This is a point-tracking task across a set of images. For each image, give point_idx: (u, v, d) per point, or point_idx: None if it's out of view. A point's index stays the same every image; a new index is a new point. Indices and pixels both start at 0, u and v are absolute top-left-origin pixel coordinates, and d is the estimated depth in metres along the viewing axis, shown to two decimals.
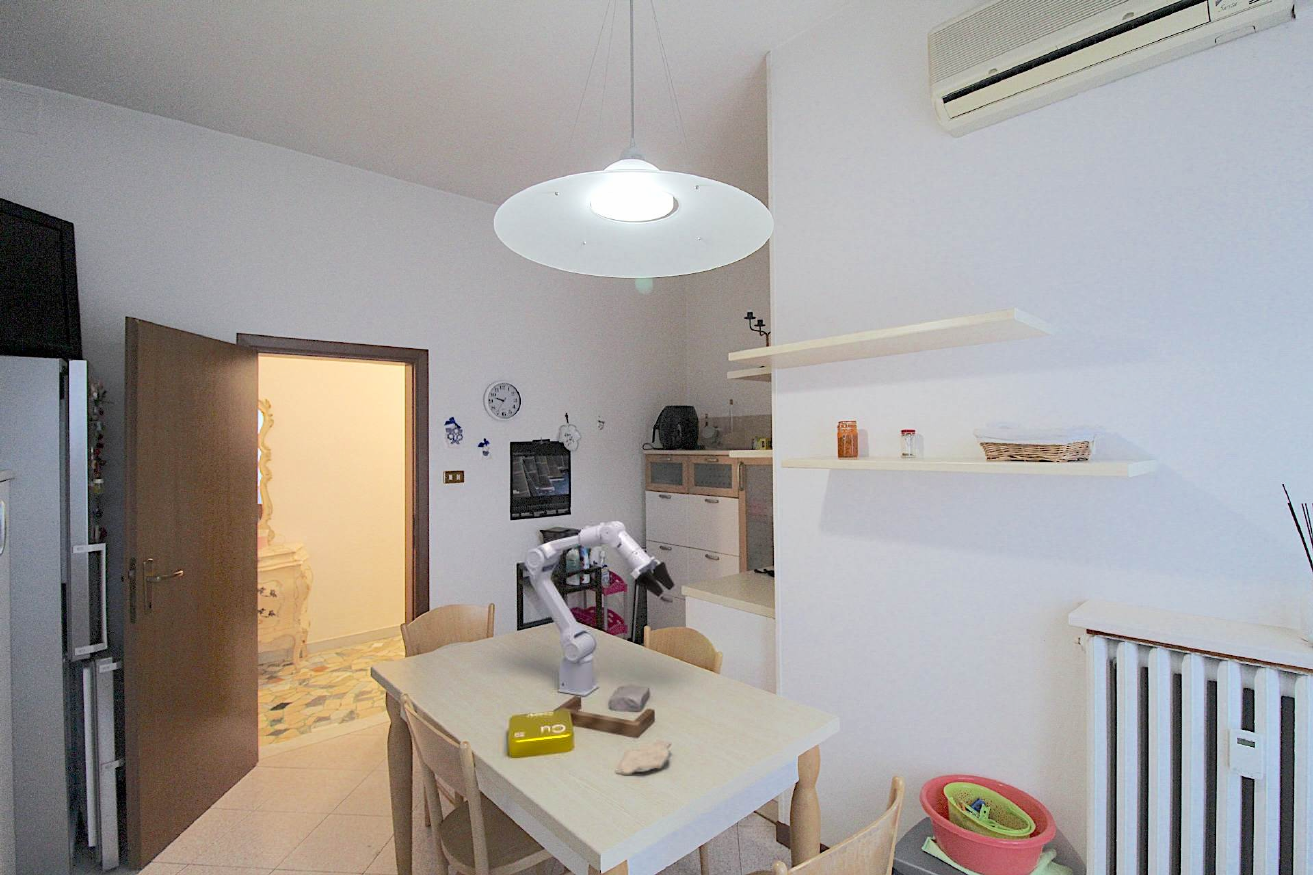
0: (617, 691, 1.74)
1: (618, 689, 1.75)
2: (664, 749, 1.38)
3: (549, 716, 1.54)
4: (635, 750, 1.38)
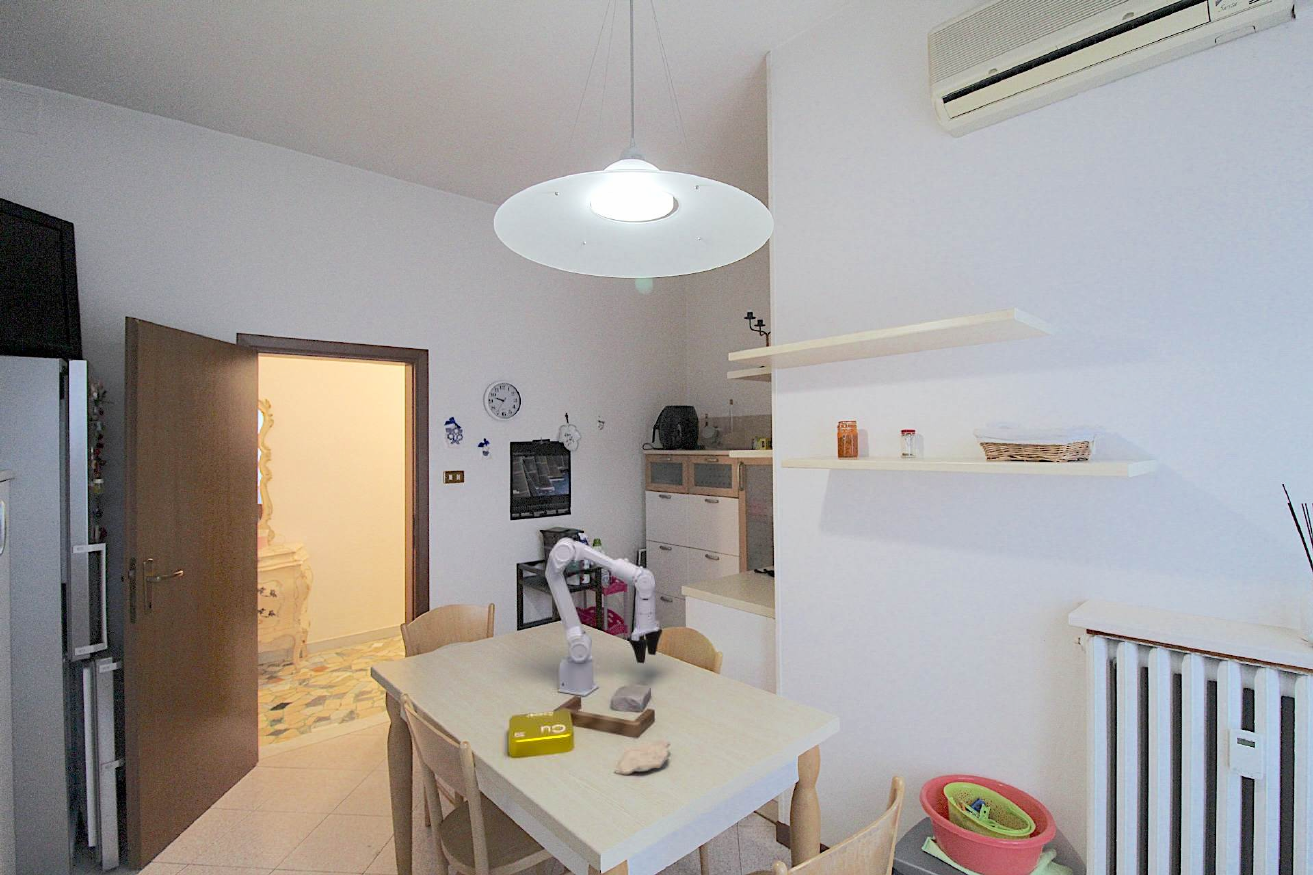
0: (619, 691, 1.74)
1: (619, 689, 1.75)
2: (663, 749, 1.38)
3: (549, 716, 1.54)
4: (634, 750, 1.38)
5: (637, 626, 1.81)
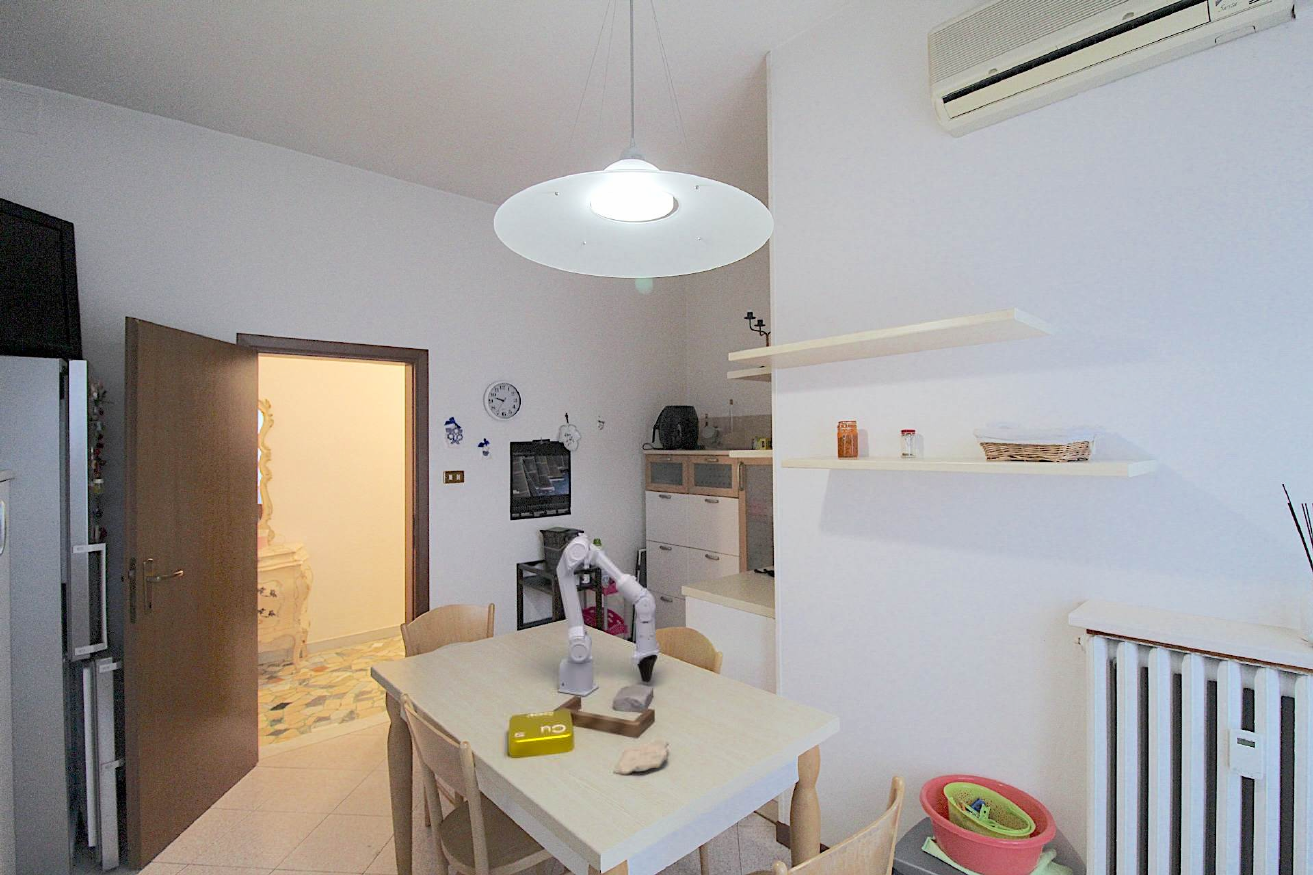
0: (621, 691, 1.74)
1: (622, 689, 1.75)
2: (662, 748, 1.38)
3: (549, 716, 1.54)
4: (633, 750, 1.38)
5: (637, 649, 1.81)
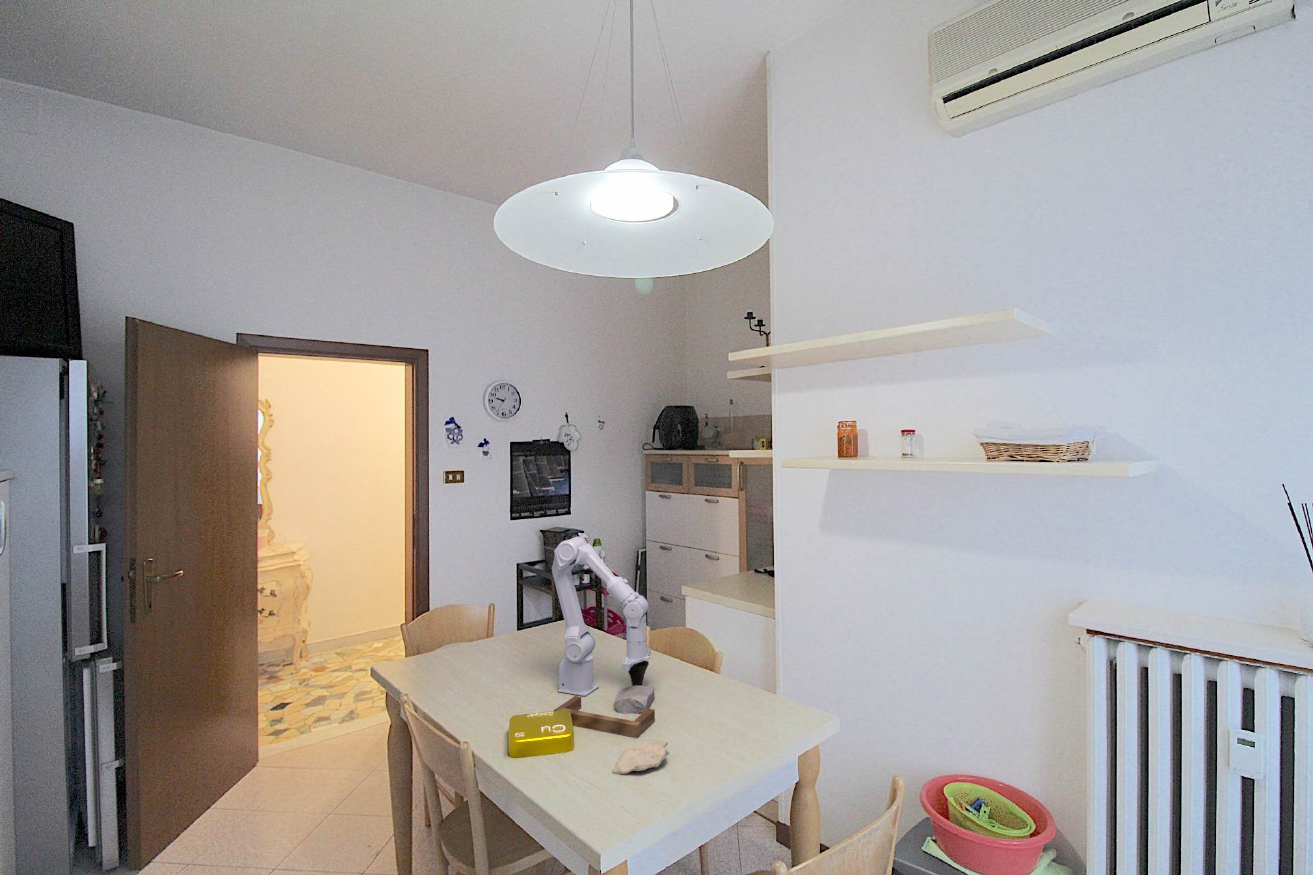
0: (622, 692, 1.73)
1: (623, 690, 1.74)
2: (661, 748, 1.38)
3: (549, 716, 1.54)
4: (632, 749, 1.39)
5: (628, 655, 1.76)
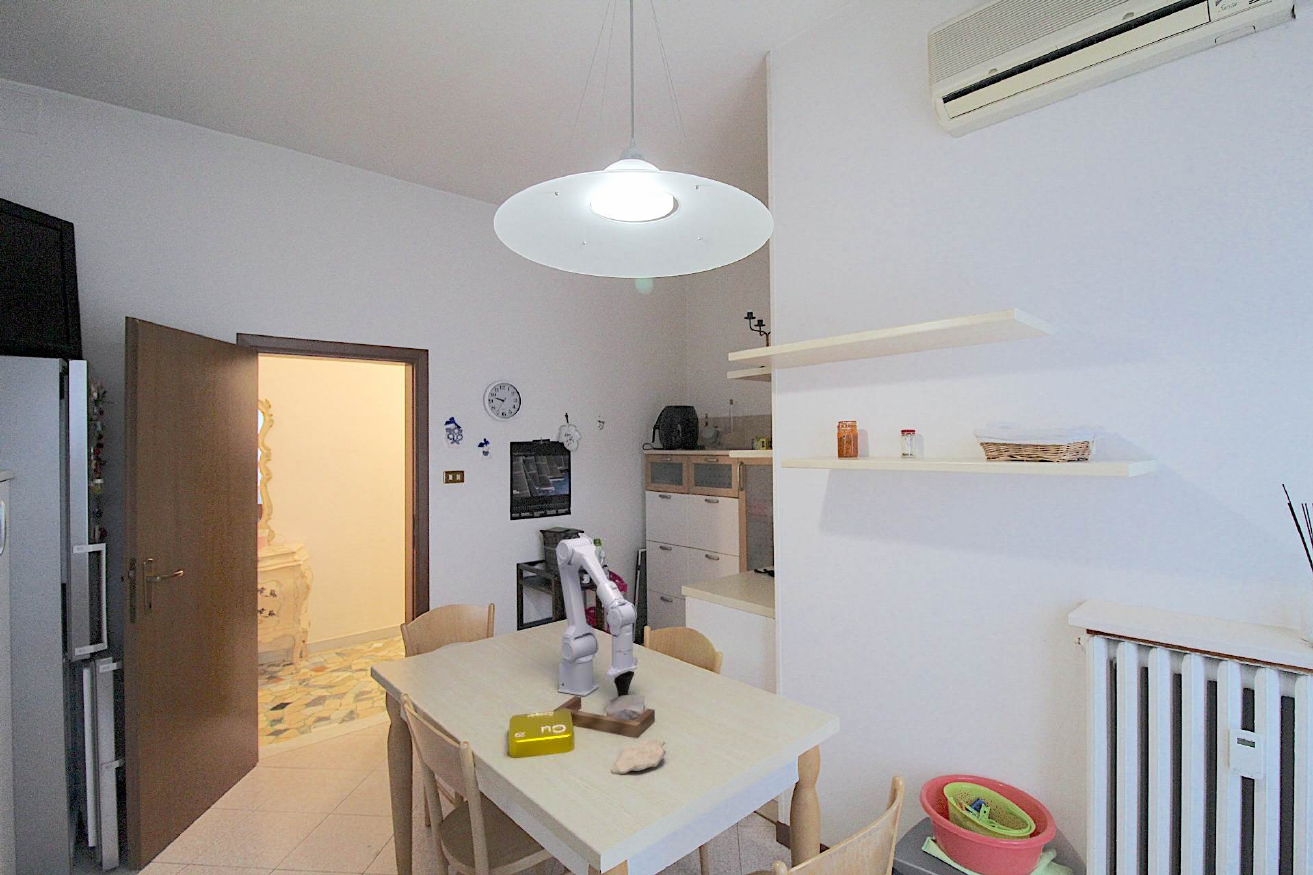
0: (612, 704, 1.65)
1: (612, 701, 1.66)
2: (659, 747, 1.39)
3: (549, 716, 1.54)
4: (630, 749, 1.39)
5: (613, 665, 1.68)
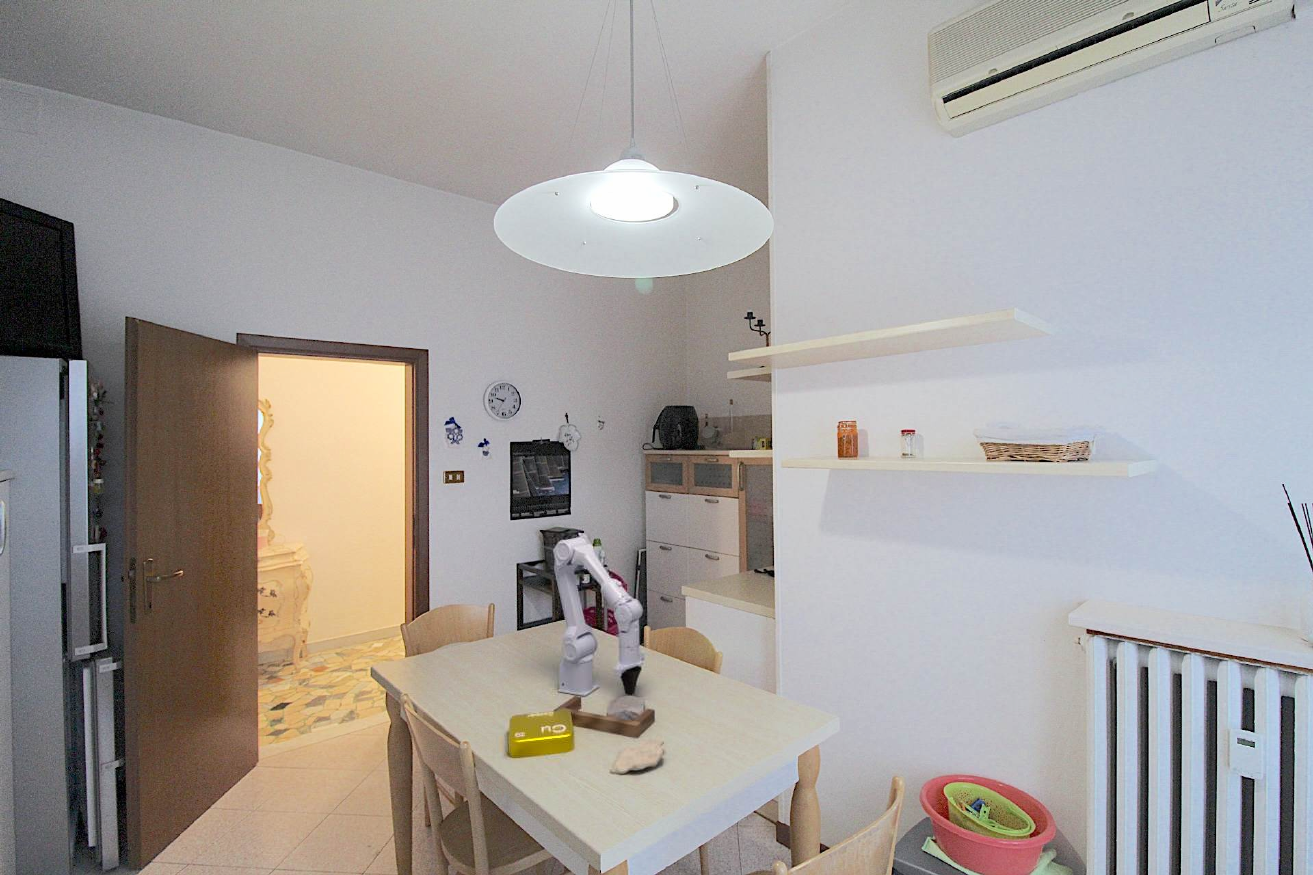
0: (612, 704, 1.65)
1: (612, 702, 1.66)
2: (658, 747, 1.39)
3: (550, 716, 1.54)
4: (629, 749, 1.39)
5: (620, 660, 1.72)
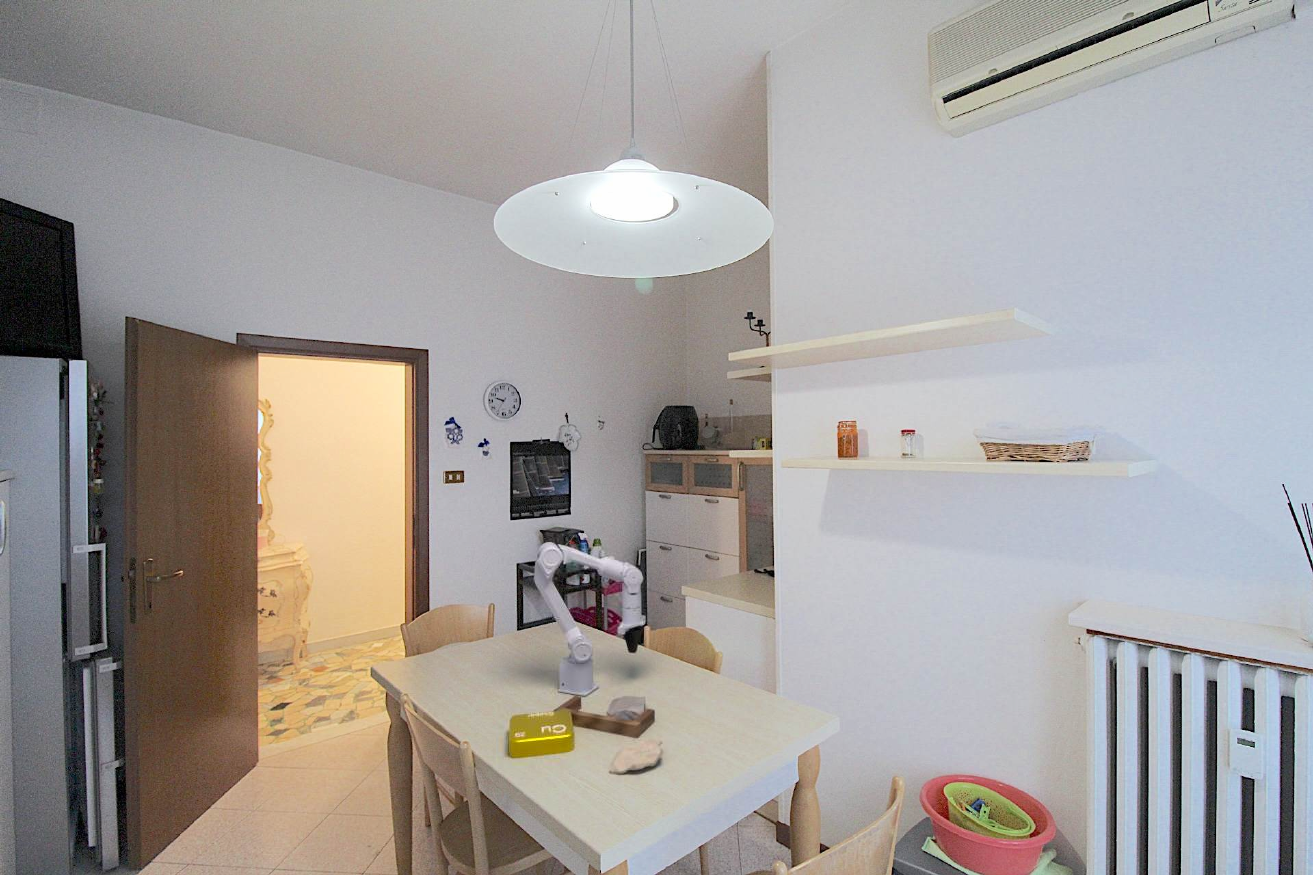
0: (613, 704, 1.65)
1: (613, 702, 1.66)
2: (656, 747, 1.39)
3: (550, 716, 1.54)
4: (627, 749, 1.39)
5: (623, 620, 1.84)
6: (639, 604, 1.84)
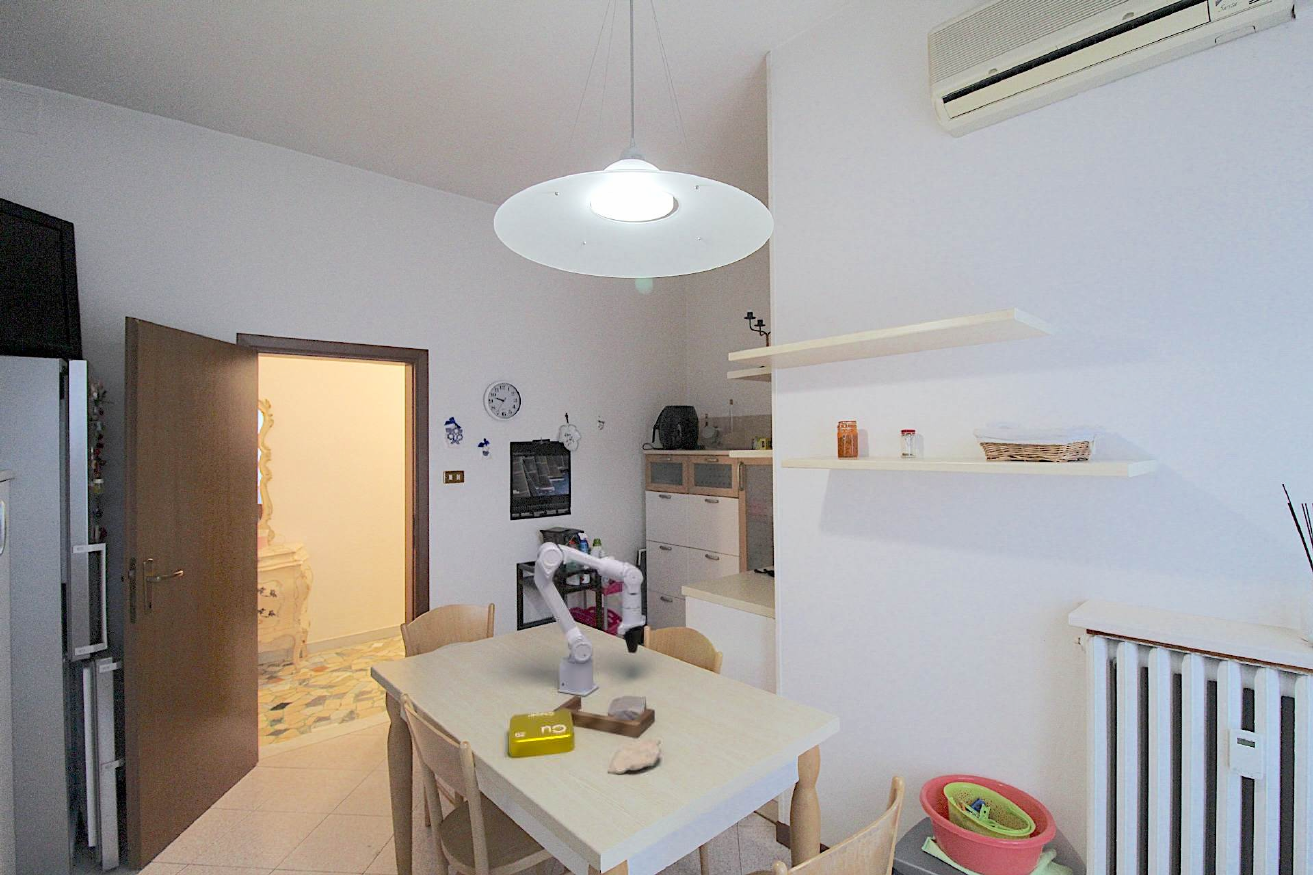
0: (613, 704, 1.65)
1: (614, 702, 1.66)
2: (655, 747, 1.39)
3: (550, 716, 1.54)
4: (626, 749, 1.39)
5: (623, 620, 1.84)
6: (639, 604, 1.84)
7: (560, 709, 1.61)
